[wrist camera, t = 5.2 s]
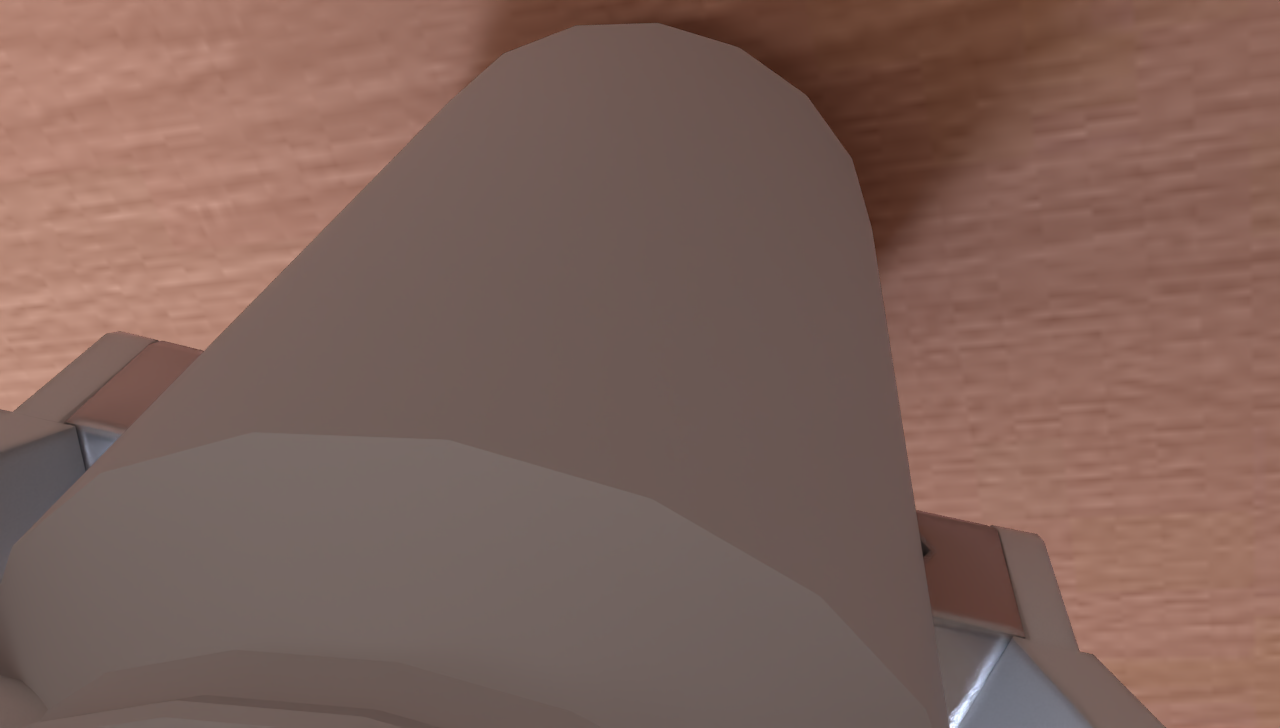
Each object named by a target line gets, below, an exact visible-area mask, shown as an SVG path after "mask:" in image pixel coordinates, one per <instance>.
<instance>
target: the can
mask: <svg viewBox="0 0 1280 728" xmlns="http://www.w3.org/2000/svg"><path fill="white" fill-rule="evenodd" d="M0 676H4V677H8V678H13V679H17V680H21V681H22V682H24V683H25V684H26V685H27V686H28V687H30V688H31V689H32V690H33V691H34V692H35V693H36V694H37V695H38V696H39V697H40V699H41V700H42V702H43V703H44V704H45V706H46V707H47V709H48V710H47V711H46V713H45V714H44V715H43V717H42V718H41V719H40V720H39V722H35V723H31V724H29V725H28V726H26V727H25V728H950V727H949V721H948V715H947V708H946V702H945V695H944V689H943V682H942V676H941V670H940V663H939V657H938V650H937V644H936V637H935V631H934V624H933V618H932V612H931V605H930V599H929V592H928V586H927V579H926V573H925V567H924V560H923V554H922V547H921V541H920V534H919V528H918V521H917V515H916V509H915V502H914V496H913V489H912V483H911V476H910V470H909V464H908V457H907V451H906V444H905V438H904V431H903V425H902V418H901V412H900V406H899V399H898V393H897V386H896V380H895V373H894V367H893V361H892V354H891V348H890V341H889V335H888V328H887V322H886V315H885V309H884V303H883V296H882V290H881V283H880V277H879V270H878V264H877V258H876V251H875V245H874V238H873V232H872V227H871V223H870V220H869V216H868V213H867V209H866V206H865V202H864V199H863V195H862V192H861V188H860V185H859V181H858V178H857V174H856V171H855V167H854V163H853V160H852V158H851V157H850V155H849V154H848V152H847V151H846V150H845V148H844V147H843V145H842V144H841V143H840V141H839V140H838V138H837V137H836V136H835V134H834V133H833V131H832V130H831V129H830V127H829V126H828V124H827V123H826V122H825V120H824V119H823V117H822V116H821V115H820V113H819V112H818V110H817V109H816V108H815V106H814V105H813V104H812V102H811V101H810V99H809V98H808V97H807V95H806V94H804V93H803V92H801V91H800V90H798V89H797V88H796V87H794V86H793V85H791V84H790V83H789V82H787V81H786V80H784V79H783V78H782V77H780V76H779V75H777V74H776V73H775V72H773V71H772V70H770V69H769V68H767V67H766V66H765V65H763V64H762V63H760V62H759V61H758V60H756V59H755V58H753V57H752V56H751V55H749V54H748V53H746V52H745V51H744V50H742V49H741V48H739V47H736V46H733V45H730V44H726V43H723V42H720V41H716V40H713V39H710V38H707V37H703V36H700V35H697V34H693V33H690V32H687V31H683V30H680V29H677V28H674V27H670V26H667V25H664V24H660V23H638V24H607V25H576V26H573V27H570V28H568V29H565V30H563V31H560V32H558V33H555V34H552V35H550V36H547V37H545V38H542V39H540V40H537V41H534V42H532V43H529V44H527V45H524V46H522V47H519V48H516V49H514V50H511V51H509V52H506V53H504V54H502V55H501V56H500V57H499V58H498V59H496V60H495V61H494V62H493V63H492V64H491V65H490V66H489V67H487V68H486V69H485V70H484V71H483V72H482V73H481V74H480V75H478V76H477V77H476V78H475V79H474V80H473V81H472V82H471V83H469V84H468V85H467V86H466V87H465V88H464V89H463V90H462V91H460V92H459V93H458V94H457V95H456V96H455V97H454V98H453V99H451V100H450V101H449V102H448V103H447V104H446V105H445V106H444V107H443V108H442V109H441V110H440V111H439V112H438V113H437V114H436V115H435V116H434V117H433V118H432V119H431V120H430V121H429V122H428V123H427V125H426V126H425V127H424V128H423V129H422V130H421V131H420V132H419V133H418V134H417V135H416V136H415V137H414V138H413V139H412V140H411V141H410V142H409V143H408V144H407V145H406V146H405V147H404V148H403V149H402V150H401V151H400V152H399V153H398V154H397V155H396V156H395V157H394V158H393V159H392V160H391V161H390V162H389V163H388V164H387V165H386V166H385V167H384V168H383V169H382V170H381V171H380V172H379V173H378V174H377V175H376V176H375V177H374V179H373V180H372V181H371V182H370V183H369V184H368V185H367V186H366V187H365V188H364V189H363V190H362V191H361V192H360V193H359V194H358V195H357V196H356V197H355V198H354V199H353V200H352V201H351V202H350V203H349V204H348V205H347V206H346V207H345V208H344V209H343V210H342V211H341V212H340V213H339V214H338V215H337V216H336V217H335V218H334V219H333V220H332V221H331V222H330V223H329V224H328V225H327V226H326V227H325V228H324V229H323V230H322V231H321V232H320V234H319V235H318V236H317V237H316V238H315V239H314V240H313V241H312V242H311V243H310V244H309V245H308V246H307V247H306V248H305V249H304V250H303V251H302V252H301V253H300V254H299V255H298V256H297V257H296V258H295V259H294V260H293V261H292V262H291V263H290V264H289V265H288V266H287V267H286V268H285V269H284V270H283V271H282V272H281V273H280V274H279V275H278V276H277V277H276V278H275V279H274V280H273V281H272V282H271V283H270V284H269V285H268V286H267V288H266V289H265V290H264V291H263V292H262V293H261V294H260V295H259V296H258V297H257V298H256V299H255V300H254V301H253V302H252V303H251V304H250V305H249V306H248V307H247V308H246V309H245V310H244V311H243V312H242V313H241V314H240V315H239V316H238V317H237V318H236V319H235V320H234V321H233V322H232V323H231V324H230V325H229V326H228V327H227V328H226V329H225V330H224V331H223V332H222V333H221V334H220V335H219V336H218V337H217V338H216V339H215V340H214V341H213V343H212V344H211V345H210V346H209V347H208V348H207V349H206V350H205V351H204V352H203V353H202V354H201V355H200V356H199V357H198V358H197V359H196V360H195V361H194V362H193V363H192V364H191V365H190V366H189V367H188V368H187V369H186V370H185V371H184V372H183V373H182V374H181V375H180V376H179V377H178V378H177V379H176V380H175V381H174V382H173V383H172V384H171V385H170V386H169V387H168V388H167V389H166V390H165V391H164V392H163V393H162V394H161V395H160V397H159V398H158V399H157V400H156V401H155V402H154V403H153V404H152V405H151V406H150V407H149V408H148V409H147V410H146V411H145V412H144V413H143V414H142V415H141V416H140V417H139V418H138V419H137V420H136V421H135V422H134V423H133V424H132V425H131V426H130V427H129V428H128V429H127V430H126V431H125V432H124V433H123V434H122V435H121V436H120V437H119V438H118V439H117V440H116V441H115V442H114V443H113V444H112V445H111V446H110V447H109V448H108V449H107V450H106V452H105V453H104V454H103V455H102V456H101V457H100V458H99V459H98V460H97V461H96V462H95V463H94V464H93V465H92V466H91V467H90V468H89V469H88V470H87V471H86V472H85V473H84V474H83V475H82V476H81V477H80V478H79V479H78V480H77V481H76V482H75V483H74V484H73V485H72V486H71V487H70V488H69V489H68V490H67V491H66V492H65V493H64V494H63V495H62V496H61V497H60V498H59V499H58V500H57V501H56V502H55V503H54V504H53V506H52V507H51V508H50V509H49V510H48V511H47V512H46V513H45V514H44V515H43V516H42V517H41V518H40V519H39V520H38V521H37V522H36V523H35V524H34V525H33V526H32V527H31V528H30V529H29V530H28V531H27V532H26V533H25V534H24V535H23V536H22V537H21V538H20V539H19V540H18V541H17V542H16V543H15V544H14V545H13V546H12V549H11V552H10V555H9V558H8V562H7V565H6V568H5V571H4V575H3V578H2V581H1V585H0Z"/></svg>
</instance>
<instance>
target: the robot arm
mask: <svg viewBox="0 0 1280 728" xmlns="http://www.w3.org/2000/svg"><path fill="white" fill-rule="evenodd" d="M203 352H204V351H202V350H198V349H194V348H190V347H186V346H182V345H178V344H174V343H170V342H166V341H158V340H155V339H151V338H147V337H142V336H138V335H134V334H130V333H126V332H122V331H118V332H113V333H108V334H105V335H104V336H103V337H101V338H100V339H99V340H98V341H97V342H96V343H94V344H93V345H92V346H91V347H90V348H88V349H87V350H86V351H85V352H84V353H82V354H81V355H80V356H79V357H78V358H76V359H75V360H74V361H73V362H72V363H70V364H69V365H68V366H67V367H66V368H64V369H63V370H62V371H61V372H60V373H58V374H57V375H56V376H55V377H54V378H53V379H51V380H50V381H49V382H48V383H47V384H45V385H44V386H43V387H42V388H41V389H39V390H38V391H37V392H36V393H35V394H33V395H32V396H31V397H30V398H29V399H27V400H26V401H25V402H24V403H23V404H21V405H20V406H19V407H18V408H17V409H16V410H14V411H13V412H10V411H5V410H0V585H1V581H2V578H3V575H4V571H5V568H6V565H7V562H8V558H9V555H10V552H11V549H12V546H13V545H14V544H15V543H16V542H17V541H18V540H19V539H20V538H21V537H22V536H23V535H24V534H25V533H26V532H27V531H28V530H29V529H30V528H31V527H32V526H33V525H34V524H35V523H36V522H37V521H38V520H39V519H40V518H41V517H42V516H43V515H44V514H45V513H46V512H47V511H48V510H49V509H50V508H51V507H52V506H53V504H54V503H55V502H56V501H57V500H58V499H59V498H60V497H61V496H62V495H63V494H64V493H65V492H66V491H67V490H68V489H69V488H70V487H71V486H72V485H73V484H74V483H75V482H76V481H77V480H78V479H79V478H80V477H81V476H82V475H83V474H84V473H85V472H86V471H87V470H88V469H89V468H90V467H91V466H92V465H93V464H94V463H95V462H96V461H97V460H98V459H99V458H100V457H101V456H102V455H103V454H104V453H105V452H106V450H107V449H108V448H109V447H110V446H111V445H112V444H113V443H114V442H115V441H116V440H117V439H118V438H119V437H120V436H121V435H122V434H123V433H124V432H125V431H126V430H127V429H128V428H129V427H130V426H131V425H132V424H133V423H134V422H135V421H136V420H137V419H138V418H139V417H140V416H141V415H142V414H143V413H144V412H145V411H146V410H147V409H148V408H149V407H150V406H151V405H152V404H153V403H154V402H155V401H156V400H157V399H158V398H159V397H160V395H161V394H162V393H163V392H164V391H165V390H166V389H167V388H168V387H169V386H170V385H171V384H172V383H173V382H174V381H175V380H176V379H177V378H178V377H179V376H180V375H181V374H182V373H183V372H184V371H185V370H186V369H187V368H188V367H189V366H190V365H191V364H192V363H193V362H194V361H195V360H196V359H197V358H198V357H199V356H200V355H201V354H202V353H203ZM916 515H917V521H918V528H919V534H920V541H921V547H922V554H923V560H924V567H925V573H926V579H927V586H928V592H929V599H930V605H931V612H932V618H933V624H934V631H935V637H936V644H937V650H938V657H939V663H940V670H941V676H942V682H943V689H944V695H945V702H946V708H947V715H948V721H949V727H950V728H1166V727H1165V726H1164V725H1163V724H1162V723H1161V722H1160V721H1159V720H1158V719H1157V718H1156V717H1155V716H1154V715H1153V714H1152V713H1151V712H1150V711H1149V710H1148V709H1147V708H1146V707H1145V706H1144V705H1143V704H1142V703H1141V702H1140V701H1139V700H1138V699H1137V698H1136V697H1135V696H1134V695H1133V694H1132V693H1131V692H1130V691H1129V690H1128V689H1127V688H1126V687H1125V686H1124V685H1123V684H1122V683H1121V682H1120V681H1119V680H1118V679H1117V678H1116V677H1115V676H1114V675H1113V674H1112V673H1111V672H1110V671H1109V670H1108V669H1107V668H1106V667H1105V666H1104V665H1103V664H1102V663H1101V662H1100V661H1099V660H1098V659H1097V658H1096V657H1095V656H1094V655H1093V654H1088V653H1084V652H1080V651H1079V648H1078V645H1077V642H1076V639H1075V636H1074V633H1073V630H1072V626H1071V623H1070V620H1069V617H1068V614H1067V611H1066V608H1065V605H1064V602H1063V599H1062V596H1061V592H1060V589H1059V586H1058V583H1057V580H1056V577H1055V574H1054V571H1053V568H1052V565H1051V562H1050V559H1049V555H1048V552H1047V549H1046V546H1045V543H1044V541H1043V540H1042V539H1041V538H1040V537H1039V536H1038V535H1037V534H1034V533H1029V532H1024V531H1019V530H1014V529H1009V528H1004V527H999V526H994V525H992V526H988V525H984V524H979V523H974V522H970V521H965V520H961V519H956V518H951V517H947V516H942V515H937V514H933V513H928V512H923V511H919V510H916ZM47 710H48V709H47V707H46V706H45V704H44V703H43V702H42V700H41V699H40V697H39V696H38V695H37V694H36V693H35V692H34V691H33V690H32V689H31V688H30V687H28V686H27V685H26V684H25V683H24V682H22V681H21V680H17V679H13V678H8V677H4V676H0V728H25V727H26V726H28V725H29V724H31V723H35V722H39V720H40V719H41V718H42V717H43V715H44V714H45V713H46V711H47Z"/></svg>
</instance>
